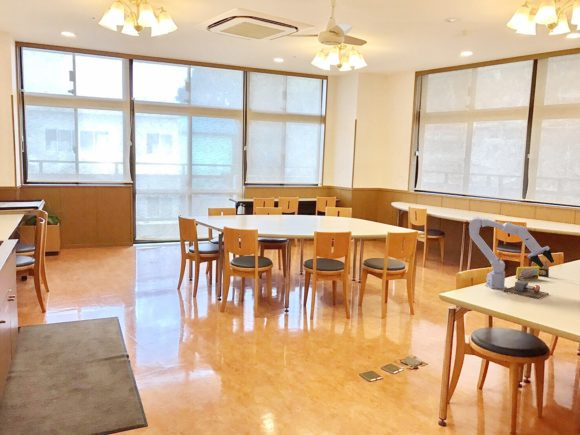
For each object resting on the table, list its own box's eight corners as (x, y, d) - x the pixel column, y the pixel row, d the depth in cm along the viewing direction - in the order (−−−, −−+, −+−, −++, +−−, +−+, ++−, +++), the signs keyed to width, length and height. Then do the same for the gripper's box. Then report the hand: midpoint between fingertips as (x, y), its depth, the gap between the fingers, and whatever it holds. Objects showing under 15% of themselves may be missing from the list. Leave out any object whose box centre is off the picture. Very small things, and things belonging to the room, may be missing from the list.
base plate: (548, 294, 267) (548, 293, 267) (538, 299, 258) (538, 297, 258) (514, 287, 281) (514, 286, 281) (503, 291, 272) (503, 289, 272)
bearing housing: (527, 290, 272) (528, 281, 271) (522, 292, 268) (523, 283, 267) (520, 288, 275) (520, 280, 275) (514, 290, 271) (515, 282, 270)
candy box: (517, 280, 300) (518, 267, 299) (515, 279, 302) (516, 267, 301) (538, 279, 304) (539, 266, 303) (536, 278, 306) (537, 266, 305)
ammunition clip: (548, 276, 311) (550, 258, 310) (547, 277, 310) (549, 259, 309) (531, 274, 318) (532, 256, 317) (530, 274, 317) (531, 256, 316)
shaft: (539, 292, 266) (540, 284, 265) (536, 293, 263) (537, 286, 263) (521, 288, 273) (522, 281, 273) (518, 290, 271) (518, 282, 270)
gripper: (545, 236, 267) (561, 256, 265) (526, 246, 280) (541, 265, 277) (538, 242, 264) (554, 262, 261) (520, 251, 276) (535, 270, 274)
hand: (547, 264), depth 269 cm, fingers open, 7 cm apart
